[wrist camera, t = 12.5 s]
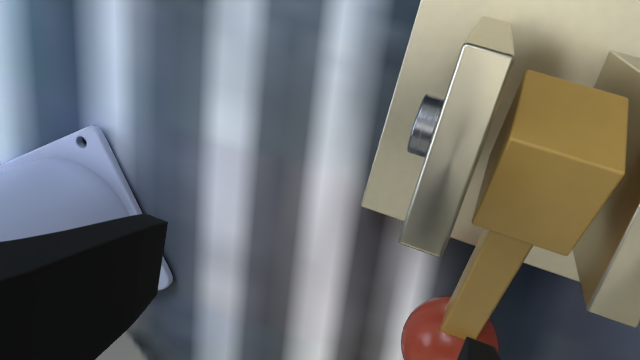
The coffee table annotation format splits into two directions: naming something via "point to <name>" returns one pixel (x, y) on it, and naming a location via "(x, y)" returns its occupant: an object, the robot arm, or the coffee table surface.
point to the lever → (528, 203)
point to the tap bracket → (488, 117)
